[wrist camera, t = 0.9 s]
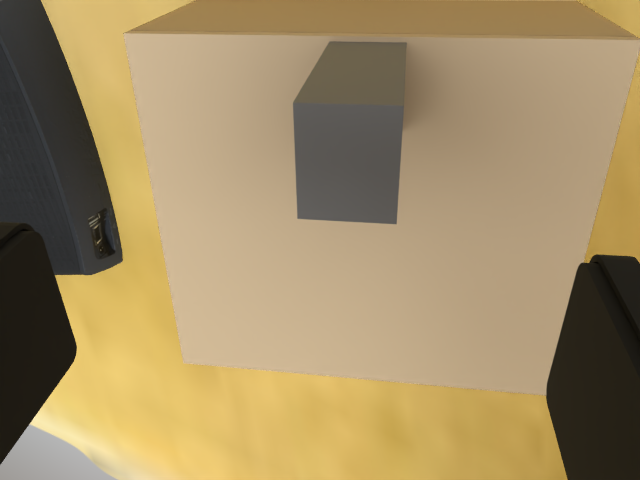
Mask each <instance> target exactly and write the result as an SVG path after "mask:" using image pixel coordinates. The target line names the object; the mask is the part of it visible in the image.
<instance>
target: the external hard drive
mask: <svg viewBox="0 0 640 480" xmlns="http://www.w3.org/2000/svg"><path fill="white" fill-rule="evenodd" d="M0 222H14V223H27V224H29V225H31V226H32V228H33V229H34V230H35V232H38V233H39V234H40V235H41V236H42V238H43V240H44V243H45V246H46V250H47V253H48V256H49V259H50V262H51V265H52V269H53V272H54V275H92V274H95V273H98V272H101V271H104V270H106V269H109V268H111V267H113V266H115V265H117V264H119V263H121V262H122V261H123V259H122V249H121V243H120V237H119V232H118V227H117V223H116V219H115V214H114V210H113V206H112V202H111V198H110V194H109V190H108V186H107V183H106V179H105V176H104V172H103V169H102V165H101V162H100V158H99V155H98V152H97V148H96V145H95V142H94V139H93V136H92V132H91V129H90V127H89V123H88V120H87V117H86V114H85V112H84V109H83V106H82V103H81V100H80V98H79V95H78V92H77V89H76V86H75V84H74V81H73V78H72V75H71V73H70V70H69V68H68V65H67V63H66V60H65V57H64V55H63V52H62V50H61V47H60V45H59V42H58V40H57V37H56V35H55V32H54V30H53V27H52V25H51V23H50V21H49V18H48V16H47V14H46V11H45V9H44V7H43V5H42V2H41V0H0Z"/></svg>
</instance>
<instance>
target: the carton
mask: <svg viewBox="0 0 640 480" xmlns="http://www.w3.org/2000/svg"><path fill="white" fill-rule="evenodd" d="M131 31H205V32H286V33H367V34H448V35H529V36H610V37H636V36H635V35H633V34H631V33H630V32H628V31H626V30H625V29H623V28H621V27H620V26H618V25H616V24H615V23H613V22H611V21H610V20H608V19H606V18H605V17H603V16H601V15H600V14H598V13H596V12H595V11H593V10H591V9H590V8H588V7H586V6H584V5H583V4H581V3H579V2H578V1H576V0H196V1H194V2H192V3H189V4H187V5H185V6H183V7H181V8H178V9H176V10H174V11H172V12H170V13H167V14H165V15H163V16H161V17H158V18H156V19H154V20H152V21H150V22H147V23H145V24H143V25H141V26H139V27H136V28H134V29H132V30H131Z"/></svg>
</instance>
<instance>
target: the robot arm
mask: <svg viewBox="0 0 640 480" xmlns="http://www.w3.org/2000/svg"><path fill="white" fill-rule="evenodd" d="M76 350H77V346H76V342H75V338H74V335H73V332H72V329H71V326H70V323H69V319H68V316H67V313H66V310H65V307H64V303H63V300H62V297H61V294H60V291H59V288H58V284H57V281H56V278H55V275H54V272H53V269H52V265H51V262H50V259H49V256H48V253H47V250H46V246H45V243H44V240H43V238H42V236H41V235H40V234H39V233H38V232H35V230H34V229H33V228H32V226H31V225H29V224H27V223H14V222H0V464H1V463H2V462H3V460H4V459H5V457H6V456H7V454H8V453H9V452H10V450H11V449H12V448H13V446H14V445H15V443H16V442H17V441H18V439H19V438H20V436H21V435H22V434H23V432H24V430H25V429H26V428H27V427H28V425H29V424H30V422H31V421H32V420H33V418H34V417H35V415H36V414H37V413H38V411H39V410H40V408H41V407H42V406H43V404H44V403H45V401H46V400H47V399H48V397H49V396H50V394H51V393H52V392H53V390H54V389H55V387H56V386H57V385H58V383H59V382H60V380H61V379H62V378H63V376H64V375H65V373H66V372H67V371H68V369H69V368H70V366H71V365H72V363H73V362H74V359H75V356H76ZM546 398H547V404H548V408H549V412H550V416H551V419H552V423H553V427H554V430H555V434H556V438H557V441H558V445H559V449H560V452H561V456H562V460H563V463H564V467H565V471H566V475H567V478H568V480H640V264H639V262H638V261H637V259H636V258H635V257H631V256H613V255H594V256H593V257H592V259H591V260H590V263H581V264H580V265H579V266H578V269H577V271H576V275H575V279H574V283H573V287H572V290H571V294H570V298H569V302H568V305H567V309H566V313H565V317H564V321H563V324H562V328H561V332H560V336H559V339H558V343H557V347H556V351H555V354H554V358H553V362H552V366H551V370H550V373H549V377H548V381H547V388H546Z"/></svg>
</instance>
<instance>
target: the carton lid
mask: <svg viewBox="0 0 640 480" xmlns="http://www.w3.org/2000/svg"><path fill="white" fill-rule="evenodd" d="M123 34H124V40H125V45H126V50H127V56H128V61H129V67H130V72H131V78H132V83H133V89H134V94H135V100H136V105H137V111H138V116H139V122H140V127H141V133H142V138H143V144H144V149H145V155H146V160H147V166H148V171H149V176H150V182H151V187H152V193H153V198H154V204H155V209H156V215H157V220H158V226H159V231H160V237H161V242H162V248H163V253H164V259H165V264H166V270H167V275H168V281H169V286H170V292H171V297H172V303H173V308H174V313H175V319H176V324H177V330H178V335H179V341H180V346H181V352H182V357H183V363H188V364H199V365H210V366H221V367H232V368H243V369H255V370H266V371H277V372H288V373H299V374H310V375H322V376H333V377H344V378H355V379H366V380H377V381H389V382H400V383H411V384H422V385H433V386H444V387H456V388H467V389H478V390H489V391H500V392H511V393H523V394H534V395H545V396H546V388H547V381H548V377H549V373H550V370H551V366H552V362H553V358H554V354H555V351H556V347H557V343H558V339H559V336H560V332H561V328H562V324H563V321H564V317H565V313H566V309H567V305H568V302H569V298H570V294H571V290H572V287H573V283H574V279H575V275H576V271H577V269H578V266H579V265H580V264H581V263H584V259H585V255H586V251H587V248H588V244H589V240H590V236H591V232H592V229H593V225H594V221H595V217H596V214H597V210H598V206H599V202H600V198H601V195H602V191H603V187H604V183H605V180H606V176H607V172H608V168H609V164H610V161H611V157H612V153H613V149H614V145H615V142H616V138H617V134H618V130H619V127H620V123H621V119H622V115H623V111H624V108H625V104H626V100H627V96H628V93H629V89H630V85H631V81H632V77H633V74H634V70H635V66H636V62H637V59H638V55H639V51H640V38H638V37H610V36H529V35H448V34H367V33H286V32H205V31H128V32H125V33H123Z"/></svg>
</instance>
